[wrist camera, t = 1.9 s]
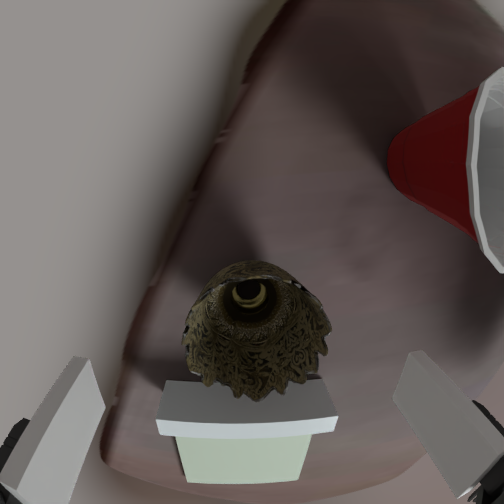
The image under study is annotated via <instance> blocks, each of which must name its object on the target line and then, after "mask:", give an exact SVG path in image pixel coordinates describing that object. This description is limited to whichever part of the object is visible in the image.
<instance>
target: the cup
mask: <svg viewBox="0 0 504 504" xmlns="http://www.w3.org/2000/svg"><path fill="white" fill-rule="evenodd" d="M248 280H253V281H256V282H257V283H258V284H259V287H260V290H259V293H258V295H257V296H256V297H254V298H252V299H244V298H242V297H241V296H240V295H239V294H238V291H237V287H238V284H239V283H241V282H243V281H248ZM185 326H186V328H185V331H184V332H183V338H182V345H185V346H186V354H185V357H186V362H187V366H188V369H189V371H190V372H192V373H194V374H196V375H198V376H200V377H201V381H202V383H203V384H204V385H205V386H206V387H211V386H212V385H213V384H214V382H215V381H214V380H216V381H217V382H219V383H220V384H221V386H227V387H230V389H231V390H232V392H233V396H234V397H235V398H236V399H240V398H241V397H242V396H243V395H244V394H245V395H246V396H247V397H248V398H250V399H251V400H252V401H253V402H256V403H257V402H260V401H263V400H264V399H265V398H266V397H267V396H268V394H269V393H270V392H271V391H273V390H276V391H277V393H278V394H280V395H281V396H284V395H285V393H286V391H287V390H288V381H289V380H290V381H292V382H293V383H298V384H304V383H306V381H307V375H309V374H308V373H310V374H312V373H313V374H315V373H317V371H318V368H319V358H318V352H319V353H320V354H322V355H323V356H327V354H328V348H327V345H326V342H325V339H326V336H329V335H330V334H331V331H332V327H331V324H330V322H329V319H328V317H327V315H326V314H325V312H324V310H323V306H322V304H321V302H320V301H319V300H318V299H317V298H316V297H315V296H314V295H313V294H311V293H310V292H309V291H308V290H307V289H306V288H305V287H304V286H303V285H302V284H301V283H299V282H298V281H297V280H296V279H295V278H294V277H293V276H291V275H290V274H289V273H287V272H286V271H285V270H283V269H281V268H280V267H278V266H276V265H273V264H271V263H268V262H263V261H256V260H248V261H241V262H237V263H234V264H231V265H229V266H227V267H225V268H224V269H222V270H220V271H219V272H218V273H217V274H216V275H214V276H213V277H212V278H211V279H210V281H209V282H208V283H207V284H206V286H205V287H204V289H203V290H202V292H201V294H200V295H199V297H198V299H197V300H196V302H195V304H194V305H193V306H192V308H191V310H190V312H189V314H188V316H187V318H186V322H185Z"/></svg>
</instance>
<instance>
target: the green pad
mask: <svg viewBox="0 0 504 504" xmlns="http://www.w3.org/2000/svg"><path fill="white" fill-rule="evenodd" d="M311 436H312V434H308V435H299V436H289V437H275V438H255V439H211V438H191V437H178V436H175V437H176V441H177V446H178V450H179V453H180V457H181V461H182V465H183V468H184V472H185V475H186V479H187V482H193V483H211V484H253V483H271V482H283V481H293V480H298V478H299V475H300V472H301V469H302V466H303V463H304V459H305V456H306V453H307V450H308V446H309V443H310V439H311Z"/></svg>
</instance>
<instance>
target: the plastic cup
mask: <svg viewBox="0 0 504 504" xmlns="http://www.w3.org/2000/svg"><path fill="white" fill-rule="evenodd" d="M387 166H388V171H389V175H390V178H391V180H392V182H393V183H394V185H395V187H396V188H397V190H399V191H400V192H401V193H402V194H403V195H405V196H406V197H407V198H408V199H410V200H411V201H413V202H416V203H418V204H420V205H422V206H424V207H425V208H426V209H427V210H428V211H430V212H432V213H434V214H435V215H437V216H439V217H440V218H442V219H444V220H445V221H447V222H449V223H450V224H452V225H454V226H455V227H457V228H459V229H460V230H462V231H463V232H465V233H466V234H468V235H469V236H470V237H471V238H472V239H473V240H474V241H476V242H477V243H478V244H479V246H480V250H481V251H482V252H483V253H484V254H485V256H486V257H487V258H488V259H489V260H490V262H491V263H492V264H493V265H494V267H495V268H496V269H497V270H498V272H499V273H504V67H501V68H500V69H498V70H497V71H495V72H494V73H493V74H492V75H490V76H489V77H488V78H487V79H486V80H484V81H483V82H482V83H481V84H480V86H478V87H477V88H476V89H473V90H471V91H469V92H468V93H467V94H465V95H464V96H462V97H460V98H458V99H456V100H455V101H453V102H451V103H449V104H447V105H445V106H443V107H441V108H439V109H437V110H435V111H433V112H431V113H429V114H428V115H426V116H424V117H422V118H421V119H420V120H418V121H417V122H416V123H414V124H412V125H410V126H408V127H406V128H405V129H404V130H402V131H401V132H400V133H398V134H397V135H396V137H394V138H393V140H392V142H391V144H390V146H389V148H388V156H387Z"/></svg>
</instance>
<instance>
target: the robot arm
mask: <svg viewBox="0 0 504 504" xmlns="http://www.w3.org/2000/svg"><path fill="white" fill-rule="evenodd" d="M392 400H393V401H394V403H395V404H396V406H397V407H398V408H399V410H400V411H401V413H402V414H403V416H404V417H405V419H406V420H407V422H408V423H409V425H410V426H411V428H412V429H413V431H414V432H415V434H416V435H417V437H418V438H419V440H420V442H421V443H422V445H423V446H424V448H425V449H426V451H427V452H428V454H429V455H430V457H431V458H432V460H433V462H434V463H435V465H436V466H437V468H438V469H439V471H440V472H441V474H442V476H443V477H444V479H445V480H446V482H447V484H448V485H449V487H450V489H451V490H452V492H453V493H454V495H455V497H456V498H457V499H458V498H459V497H461V496H463V495H464V494H466V493H468V492H469V491H471V490H472V489H473V488H474V487H475V486H476V485H477V484H478V483H479V482H480V483H481V486H480V487H479V488H478V489H477V490H476V491H474V492H473V493H472V494H471V496H470V497H469V499H468V502H470V501H471V500H472V499H473V498H474V497H475V496H476V495H477V497H476V498H475V499H474V500H473V502H476V504H504V428H503V427H502V426H501V424H500V423H499V422H498V421H496V420H495V418H494V417H493V416H492V415H490V413H489V411H488V410H487V409H486V408H485V407H484V406H483V405H481V404H480V403H478V402H476V401H475V400H473V401H471V400H470V399H469V398H468V397H467V396H466V395H465V394H464V392H463V391H462V390H461V389H460V388H459V387H458V386H457V385H456V384H455V383H454V382H453V381H452V380H451V379H450V378H449V377H448V376H447V375H446V374H445V373H444V372H443V371H442V370H441V368H440V367H439V366H438V365H437V364H436V363H435V362H434V361H433V360H432V359H431V358H430V357H429V356H428V355H427V354H426V353H425V352H424V351H423V350H418V351H413V352H409V354H408V357H407V360H406V362H405V365H404V368H403V371H402V374H401V376H400V379H399V382H398V384H397V387H396V389H395V392H394V394H393V397H392ZM104 410H105V405H104V402H103V399H102V396H101V394H100V391H99V388H98V385H97V382H96V379H95V376H94V373H93V369H92V366H91V363H90V360H89V359H88V358H82V357H75V356H74V357H73V358H72V359H71V361H70V362H69V363H68V365H67V366H66V368H65V369H64V370H63V372H62V373H61V375H60V376H59V378H58V379H57V380H56V382H55V383H54V385H53V386H52V388H51V389H50V391H49V392H48V394H47V395H46V397H45V398H44V400H43V402H42V403H41V405H40V406H39V408H38V409H37V411H36V413H35V414H34V416H33V417H32V419H31V420H28V419H25V418H23V419H22V420H20V421H19V422H18V423H17V424H15V425H14V426H13V428H12V430H11V431H10V433H9V434H8V437H7V438H6V439H5V441H4V445H2V446H1V448H0V504H69V501H70V498H71V495H72V492H73V489H74V487H75V484H76V481H77V478H78V475H79V473H80V470H81V467H82V464H83V462H84V459H85V456H86V454H87V451H88V449H89V446H90V444H91V441H92V439H93V436H94V434H95V431H96V429H97V426H98V424H99V422H100V419H101V417H102V414H103V412H104Z"/></svg>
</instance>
